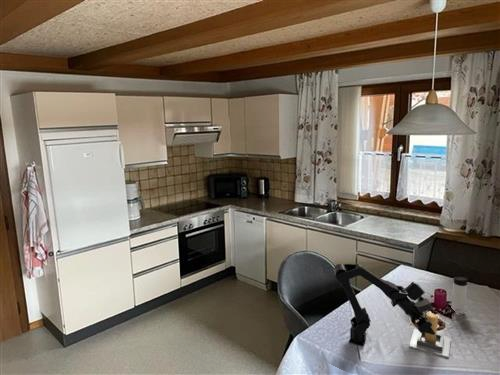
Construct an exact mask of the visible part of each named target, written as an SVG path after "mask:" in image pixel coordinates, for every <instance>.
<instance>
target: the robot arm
mask: <svg viewBox="0 0 500 375" xmlns="http://www.w3.org/2000/svg"><path fill="white" fill-rule="evenodd" d="M333 272H334V276H335V279H336V280H337V282H338V284H339V285H341V286H342V288H343V290H344V292H345V295H346V297H347V299H348V301H349V304H350V305H351V308H352V310H353V315H354V316H353V317H352V318H351V319H350V320H349V321H350V324H351V327H350V330H349V332H350V333H349V340H348V342H349V343H351V344H354V345H358V346H362V347H363V346H364V344H365V343H366V342H367V332H366V331H367V330H368V329H369V328H370V327H371V322H372V320H371V318H370V316H369V313H368V312H367V309H366V307H362V306H361V305H360V302H359V299H358V297H357V296H356V293H355V292H354V289H353V287H352V284H351V281H350V279H353V278H355V277H362V278H363V279H365V281H368V282H369V283H371V284H373V286H375V287H377V288H378V289H380V290H381V291H382V293H384V295H385V296H386V297H387V298H388V299H390V304H391V306H392V307H393V308H394V307H396V306H398V308H400V309H401V310H402V311H403V312H404V314H405V315H406V316H408V317H410V320H412V322H415V321H417V322H415V327H416V329H418V330H419V331H420V332H421V333H423V332H425V333H429V334H432V335H435V332H434V331H433V329H432V328H431V326H432V323H431V322H430V321H429V319H428V318H427V316H425V315H424V314H425V313H424V312H427V311H431V310H433V307H432V304H431V301H430V300H429V299H428V298H426V297H423V295H425V294H426V292H425V290H424V289H423V288H422V286H420V284H418V283H417V282H415V281H412V282H410V284H409V285H407V286H406V287H404V285H403V286H402V285H397V284H395V283H393V282H392V281H389V280H384V279H383V278H381V277H379V276H378V275H377V274H375V273H374V272H372V271H370V270H369V269H367V268H366V267H364V265H363V264H361V263H354V264H352V263H344V264H342V263H337V264H335V265H334V267H333Z"/></svg>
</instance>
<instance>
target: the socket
mask: <svg viewBox="0 0 500 375" xmlns="http://www.w3.org/2000/svg"><path fill="white" fill-rule="evenodd" d="M451 339H452V338H451V336H447V335H444V334H440V333H437V334H436V344H434V343H430V342H426V341H425V332H423V333H421V332H420V331H419V330H418V329H417V328H413V331H412V335H411V338H410V343H409V348H410V349H413V350H417V351H421V352H424V353H428V354H432V355H435V356H439V357H442V358H445V359H449V356H450V350H451V349H450V346H451Z"/></svg>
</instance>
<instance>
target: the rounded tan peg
mask: <svg viewBox="0 0 500 375" xmlns="http://www.w3.org/2000/svg"><path fill="white" fill-rule="evenodd" d="M426 317H427V318H428V319H429V321H430V322H431V323H432V326H431V328H432V329H433V331H434V332H435V335H432V334H429V333H425V341H426V342H430V343H434V344H436V334H438V333H437V331H438V330H437V329H438V320H439V317H438V315H437V314H435V313H427V314H426Z"/></svg>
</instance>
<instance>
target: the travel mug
mask: <svg viewBox="0 0 500 375" xmlns="http://www.w3.org/2000/svg"><path fill="white" fill-rule="evenodd" d="M467 289H468V278H467V277H464V276H456V277H455V276H454V277H453V285H452V295H451V308H452V309H453V310H454V311H455V312H456V313H458V314H459V315H458V316H463V315H465V309H466V300H467V291H468V290H467ZM451 308H450V309H451Z"/></svg>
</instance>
